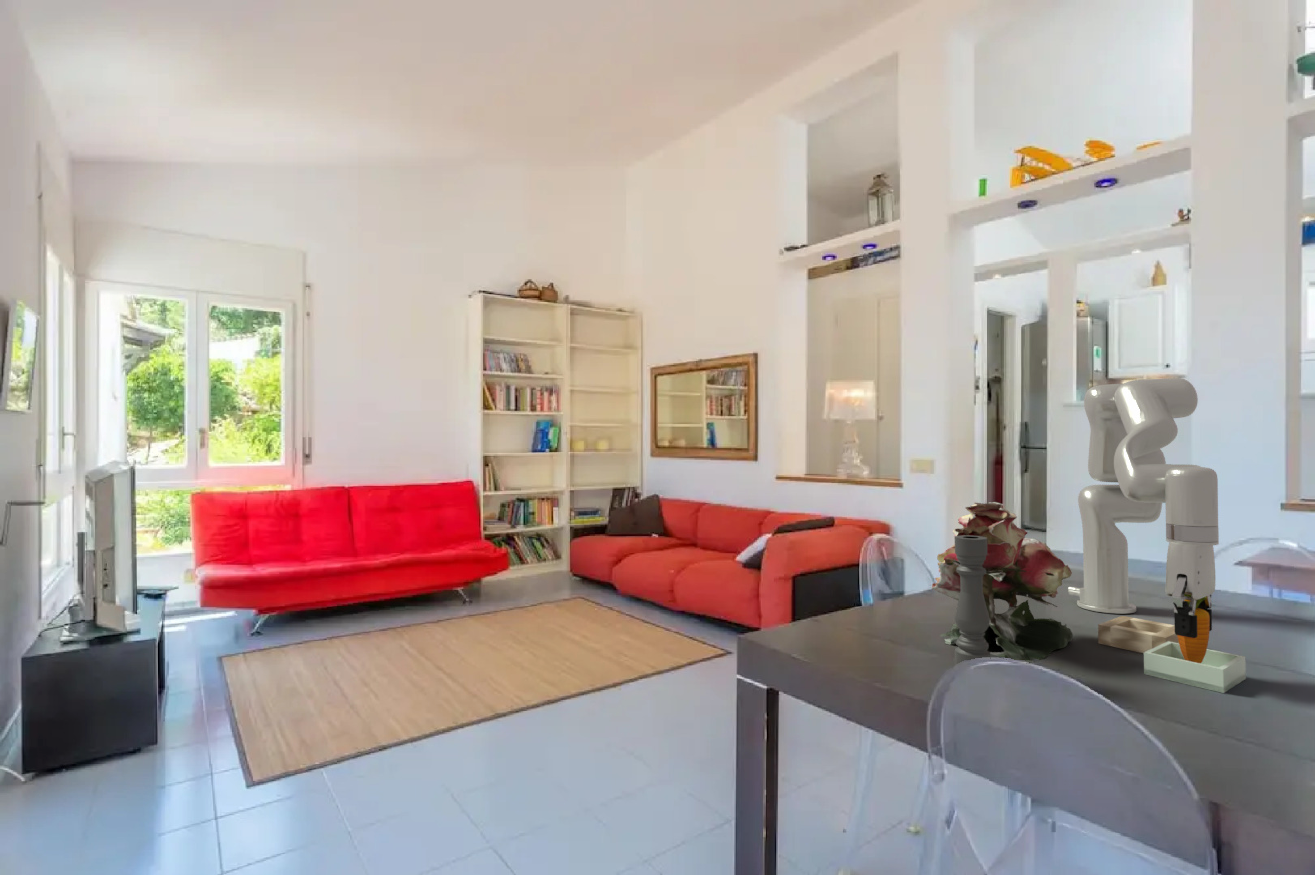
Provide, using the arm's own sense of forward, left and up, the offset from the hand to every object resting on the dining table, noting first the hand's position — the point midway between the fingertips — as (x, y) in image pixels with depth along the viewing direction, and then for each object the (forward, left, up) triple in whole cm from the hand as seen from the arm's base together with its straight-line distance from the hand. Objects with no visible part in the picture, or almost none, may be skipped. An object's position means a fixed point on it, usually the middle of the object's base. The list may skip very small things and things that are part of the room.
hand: (1193, 632), depth 122 cm
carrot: (0, 0, -7) cm, 7 cm away
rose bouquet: (-34, -6, -8) cm, 35 cm away
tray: (0, 0, -8) cm, 8 cm away
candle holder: (-26, -28, -8) cm, 39 cm away
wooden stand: (-13, +14, -8) cm, 21 cm away
